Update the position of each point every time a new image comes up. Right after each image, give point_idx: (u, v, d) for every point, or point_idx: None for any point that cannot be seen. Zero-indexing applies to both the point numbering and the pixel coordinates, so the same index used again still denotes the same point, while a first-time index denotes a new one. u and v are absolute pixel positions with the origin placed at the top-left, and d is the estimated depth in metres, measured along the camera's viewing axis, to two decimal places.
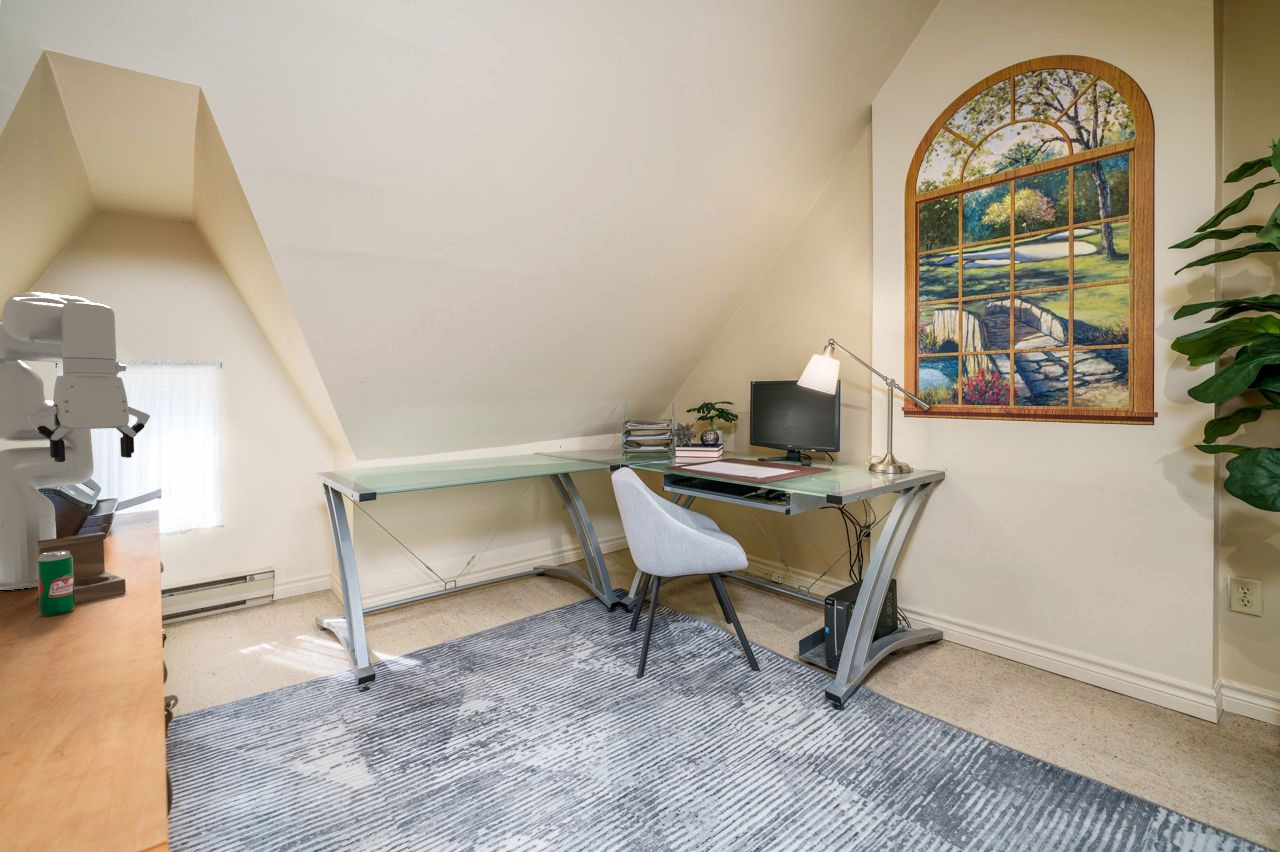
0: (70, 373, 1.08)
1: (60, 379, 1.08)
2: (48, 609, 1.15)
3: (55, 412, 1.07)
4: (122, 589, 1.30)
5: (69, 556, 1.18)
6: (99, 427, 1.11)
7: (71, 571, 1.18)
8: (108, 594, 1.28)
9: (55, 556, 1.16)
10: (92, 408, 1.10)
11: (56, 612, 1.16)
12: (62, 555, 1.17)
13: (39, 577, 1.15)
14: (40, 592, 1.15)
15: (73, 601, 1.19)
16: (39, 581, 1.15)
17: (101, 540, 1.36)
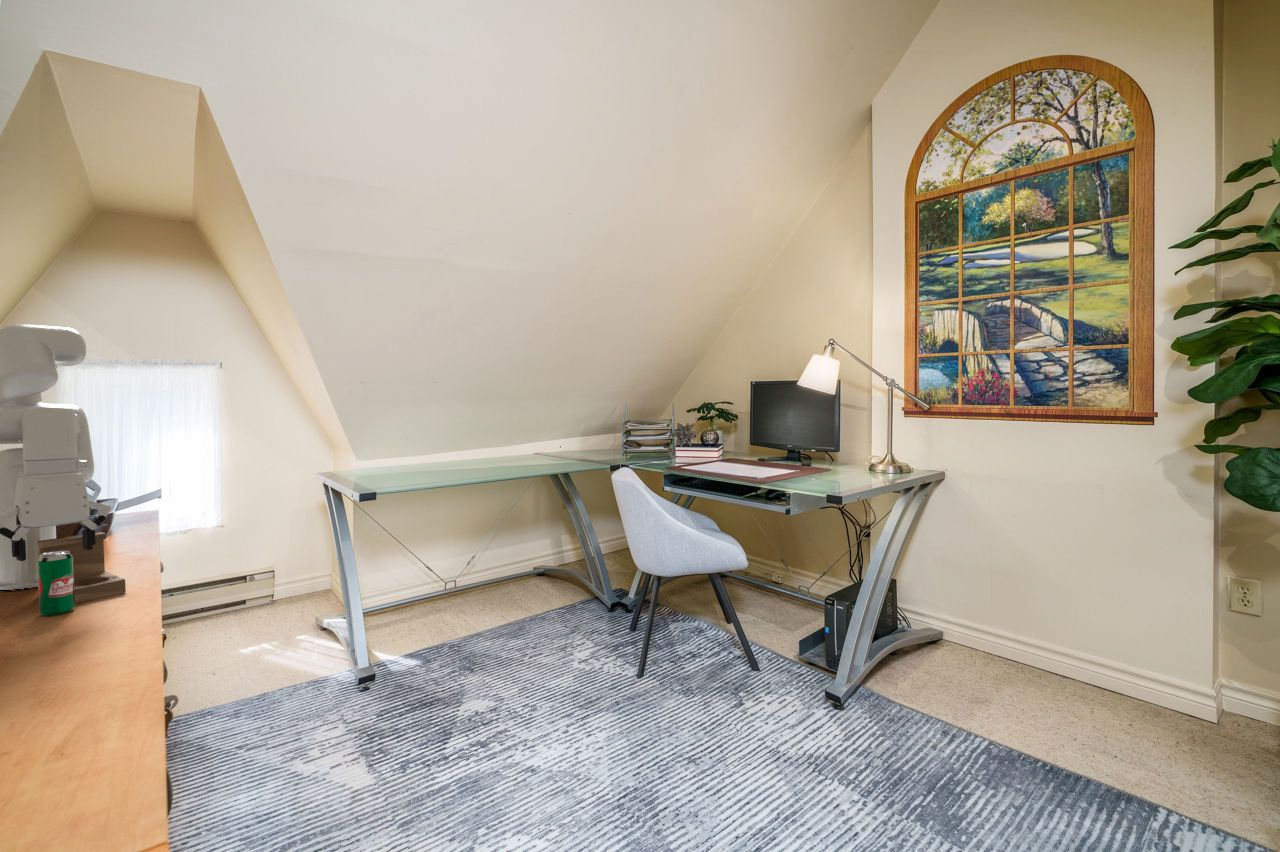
0: (30, 475, 1.13)
1: (21, 481, 1.12)
2: (48, 609, 1.15)
3: (16, 513, 1.12)
4: (122, 589, 1.30)
5: (69, 556, 1.18)
6: (60, 524, 1.16)
7: (71, 571, 1.18)
8: (108, 594, 1.28)
9: (55, 556, 1.16)
10: (52, 507, 1.15)
11: (56, 612, 1.16)
12: (62, 555, 1.17)
13: (39, 577, 1.15)
14: (40, 592, 1.15)
15: (73, 601, 1.19)
16: (39, 581, 1.15)
17: (101, 540, 1.36)
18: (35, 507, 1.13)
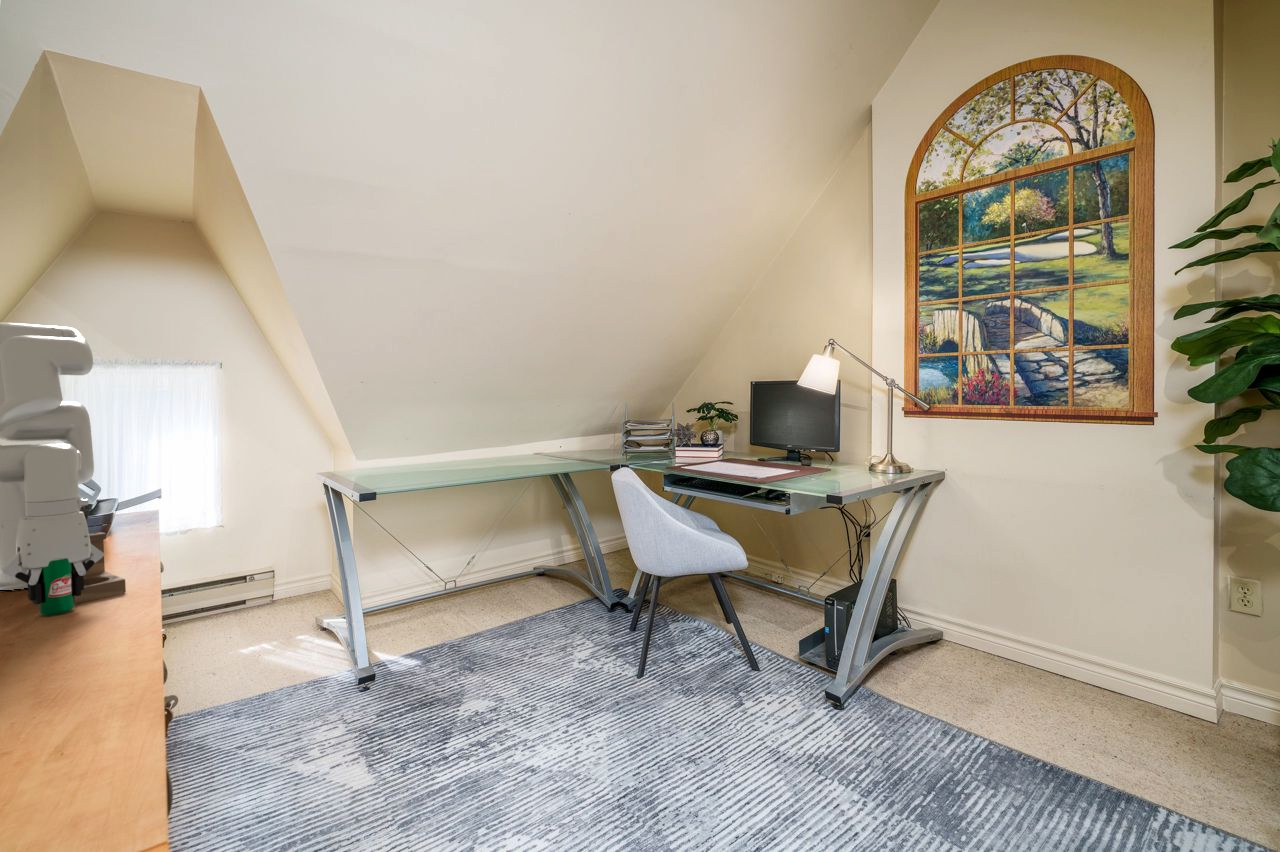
0: (32, 517, 1.13)
1: (22, 522, 1.13)
2: (48, 609, 1.15)
3: None
4: (122, 589, 1.30)
5: None
6: None
7: (71, 571, 1.18)
8: (108, 594, 1.28)
9: None
10: (54, 547, 1.15)
11: (56, 612, 1.16)
12: None
13: (39, 577, 1.15)
14: None
15: (73, 601, 1.19)
16: (39, 581, 1.15)
17: (101, 540, 1.36)
18: (37, 548, 1.13)
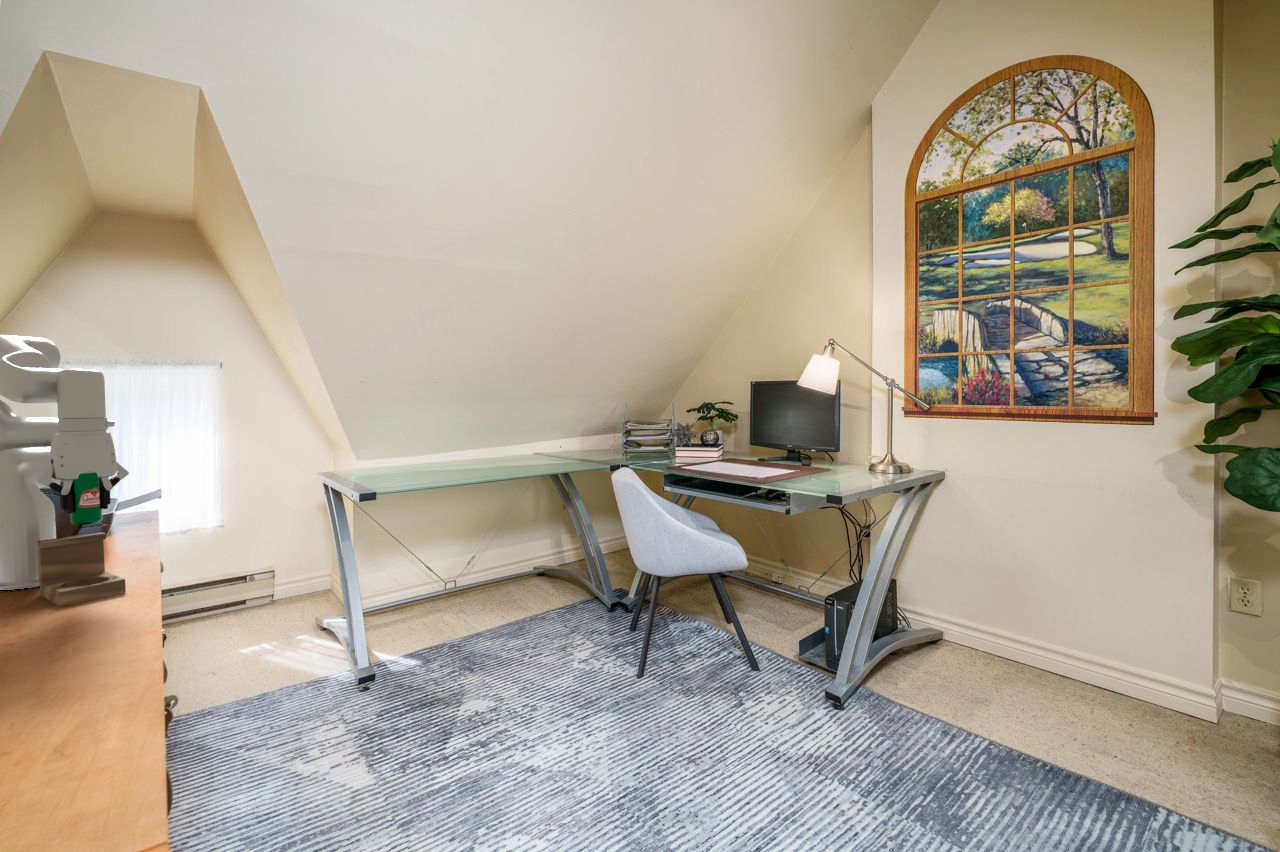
0: (65, 432, 1.23)
1: (56, 437, 1.23)
2: (79, 518, 1.25)
3: None
4: (122, 589, 1.30)
5: None
6: None
7: (99, 485, 1.28)
8: (108, 594, 1.28)
9: None
10: (84, 461, 1.25)
11: (86, 521, 1.26)
12: None
13: (70, 488, 1.25)
14: None
15: (101, 513, 1.29)
16: (70, 492, 1.25)
17: (101, 540, 1.36)
18: (68, 461, 1.23)
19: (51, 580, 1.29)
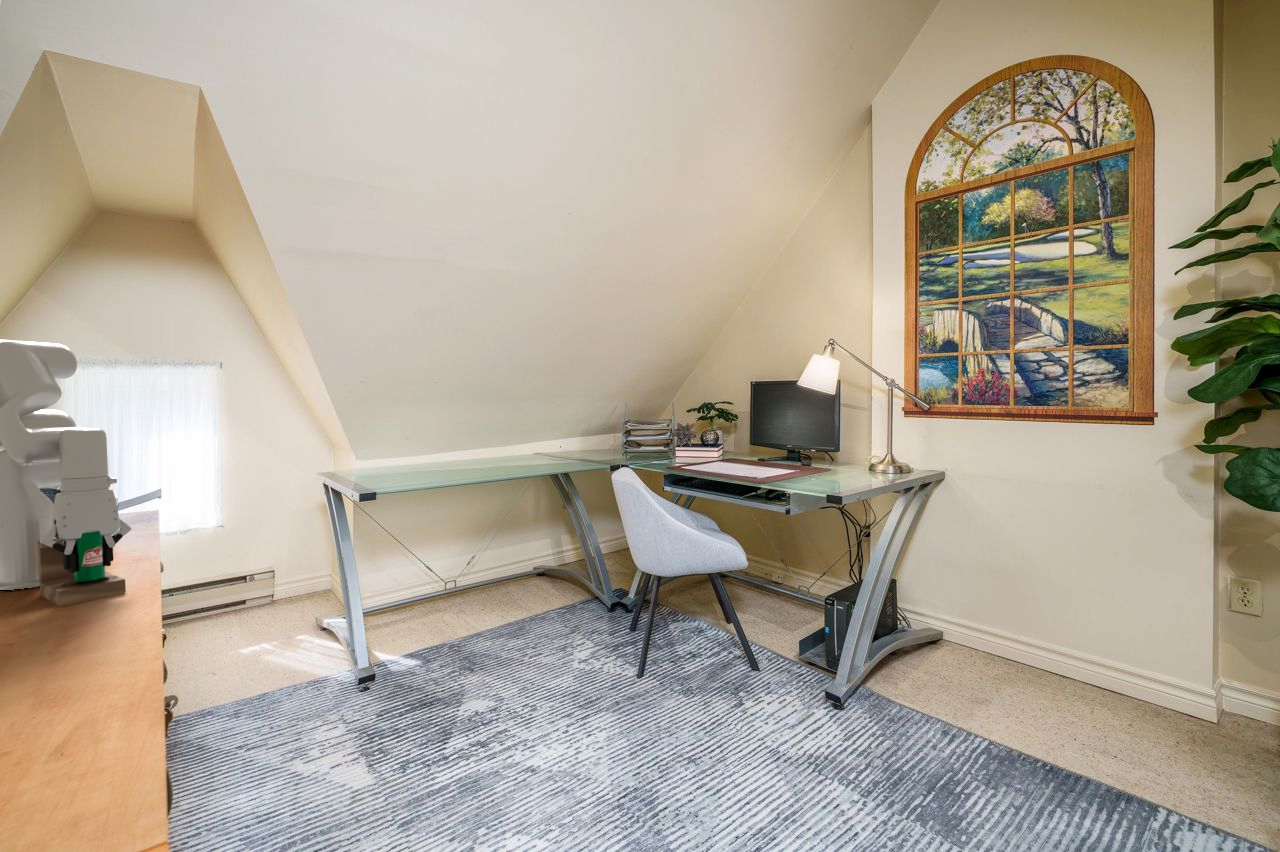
0: (67, 492, 1.24)
1: (58, 497, 1.23)
2: (82, 577, 1.26)
3: None
4: (122, 589, 1.30)
5: None
6: None
7: (102, 543, 1.29)
8: (108, 594, 1.28)
9: None
10: (87, 520, 1.26)
11: (89, 580, 1.26)
12: None
13: (73, 548, 1.26)
14: None
15: (104, 570, 1.29)
16: (73, 551, 1.26)
17: None
18: (71, 521, 1.24)
19: (51, 580, 1.29)
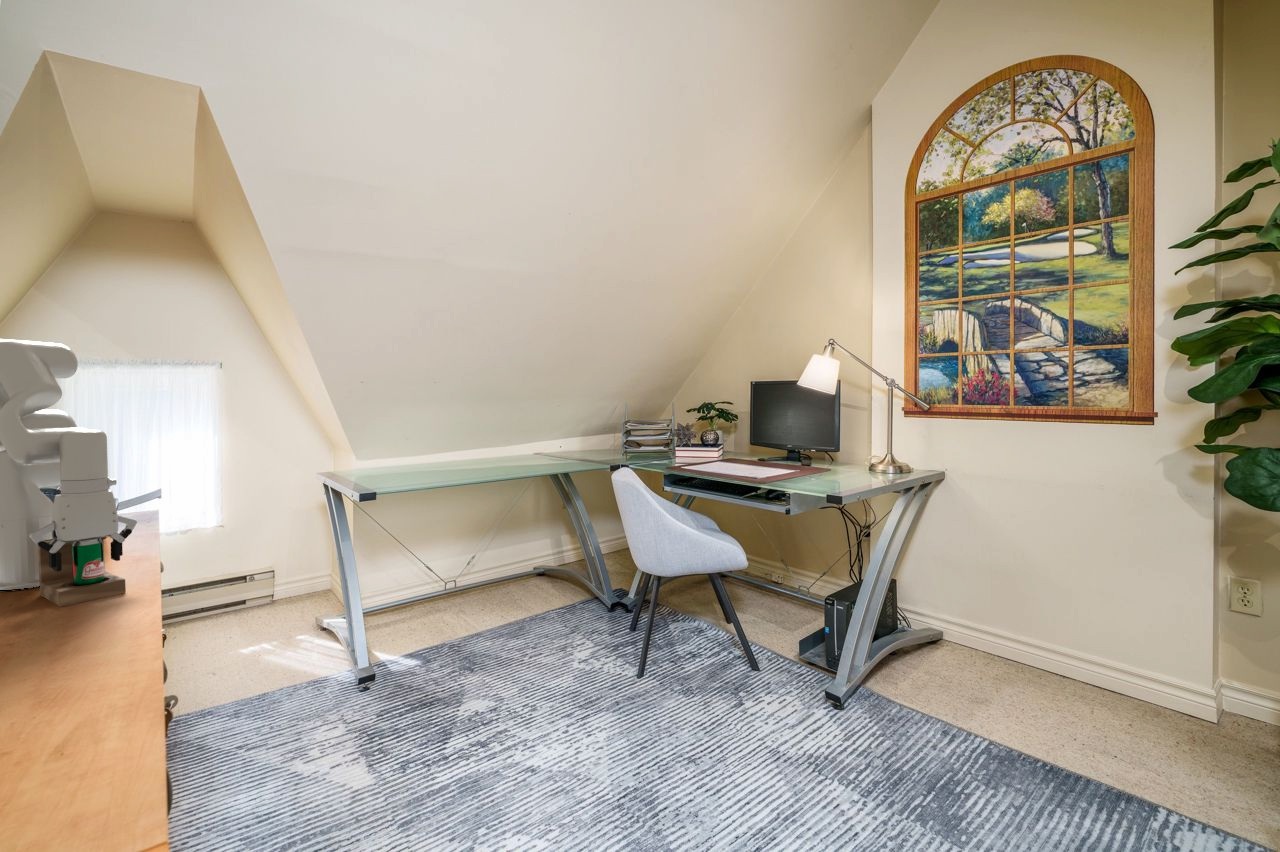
0: (67, 494, 1.24)
1: (58, 499, 1.23)
2: None
3: (53, 528, 1.23)
4: (122, 589, 1.30)
5: (100, 541, 1.29)
6: (92, 537, 1.27)
7: (102, 555, 1.29)
8: (108, 594, 1.28)
9: (87, 541, 1.27)
10: (86, 522, 1.26)
11: None
12: (94, 540, 1.28)
13: (73, 560, 1.26)
14: (74, 574, 1.26)
15: None
16: (73, 564, 1.26)
17: None
18: (70, 523, 1.24)
19: (51, 580, 1.29)
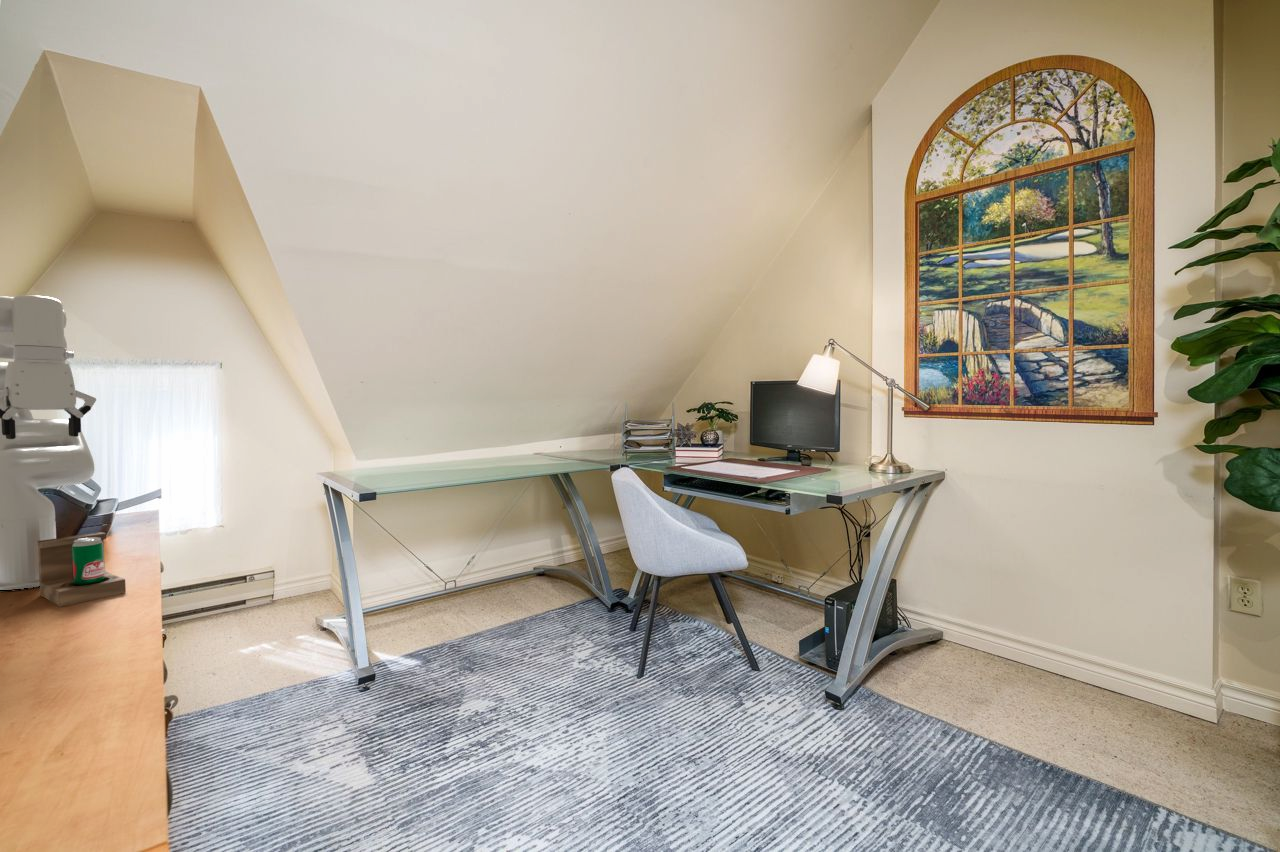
0: (20, 359, 1.20)
1: (11, 364, 1.19)
2: None
3: (6, 394, 1.19)
4: (122, 589, 1.30)
5: (100, 542, 1.29)
6: (48, 408, 1.23)
7: (102, 556, 1.29)
8: (108, 594, 1.28)
9: (87, 542, 1.26)
10: (41, 391, 1.22)
11: None
12: (94, 541, 1.27)
13: (73, 561, 1.26)
14: (74, 574, 1.26)
15: None
16: (73, 564, 1.26)
17: (101, 540, 1.36)
18: (24, 389, 1.20)
19: (51, 580, 1.29)
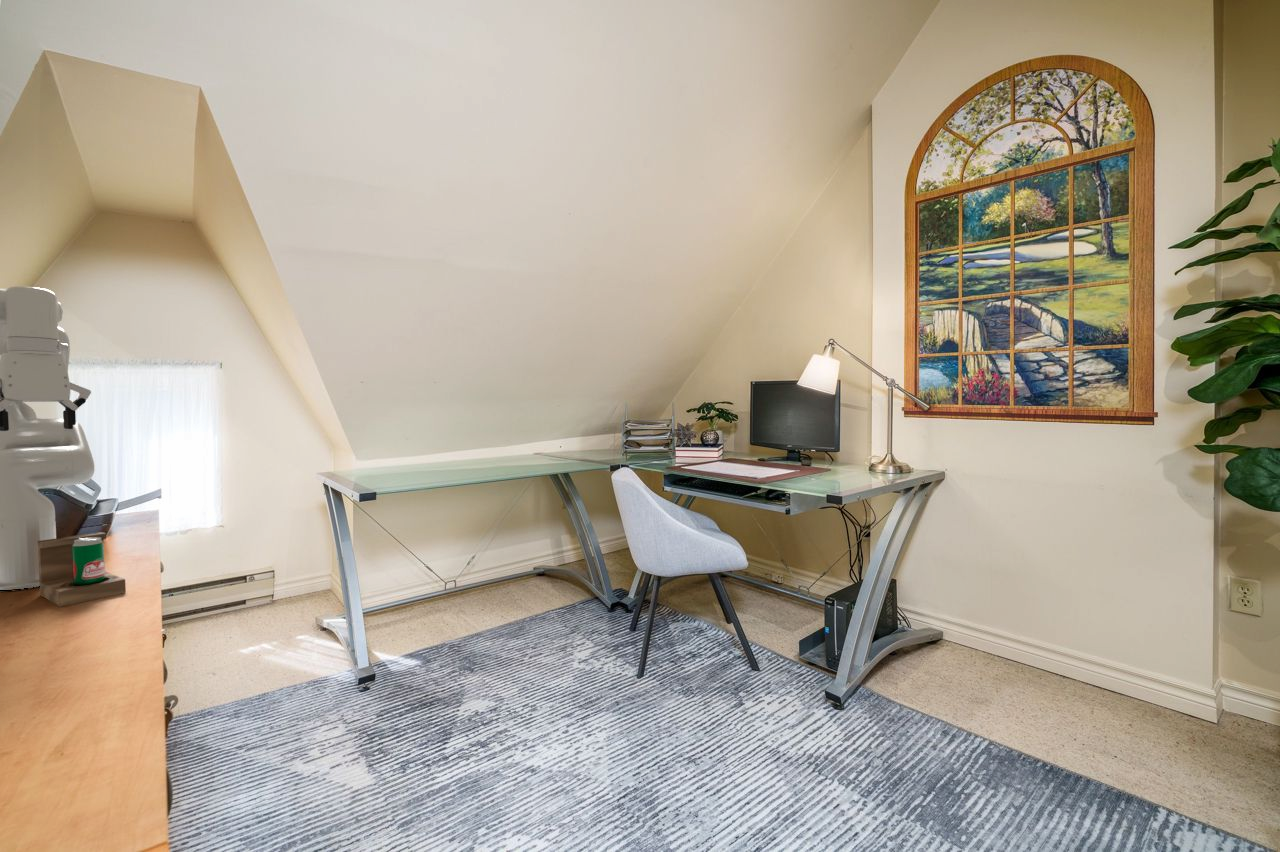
0: (13, 350, 1.19)
1: (4, 355, 1.19)
2: None
3: None
4: (122, 589, 1.30)
5: (100, 542, 1.29)
6: (41, 400, 1.23)
7: (102, 555, 1.29)
8: (108, 594, 1.28)
9: (88, 541, 1.27)
10: (34, 383, 1.21)
11: None
12: (94, 541, 1.27)
13: (73, 561, 1.26)
14: (74, 574, 1.26)
15: None
16: (73, 564, 1.26)
17: None
18: (17, 381, 1.19)
19: (51, 580, 1.29)
